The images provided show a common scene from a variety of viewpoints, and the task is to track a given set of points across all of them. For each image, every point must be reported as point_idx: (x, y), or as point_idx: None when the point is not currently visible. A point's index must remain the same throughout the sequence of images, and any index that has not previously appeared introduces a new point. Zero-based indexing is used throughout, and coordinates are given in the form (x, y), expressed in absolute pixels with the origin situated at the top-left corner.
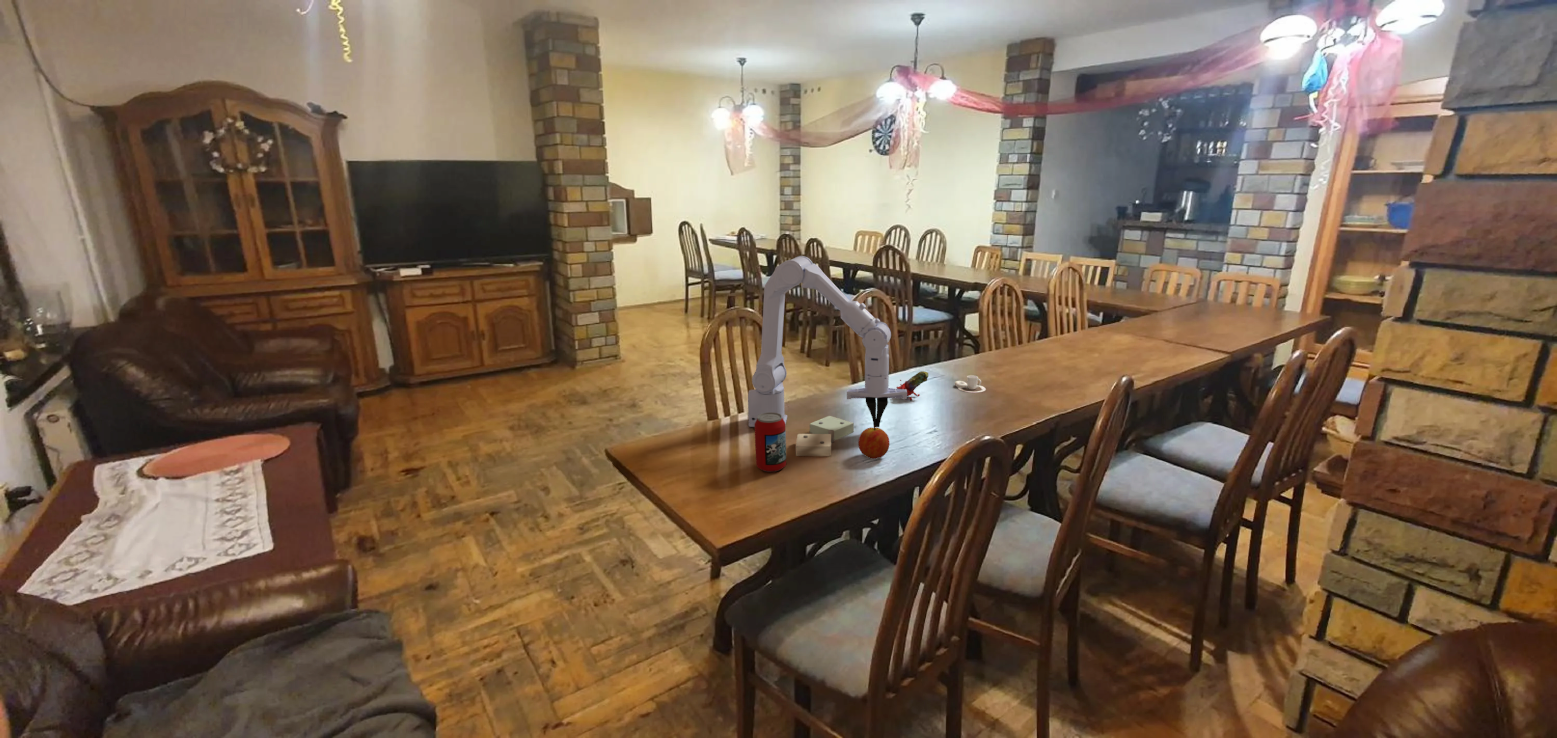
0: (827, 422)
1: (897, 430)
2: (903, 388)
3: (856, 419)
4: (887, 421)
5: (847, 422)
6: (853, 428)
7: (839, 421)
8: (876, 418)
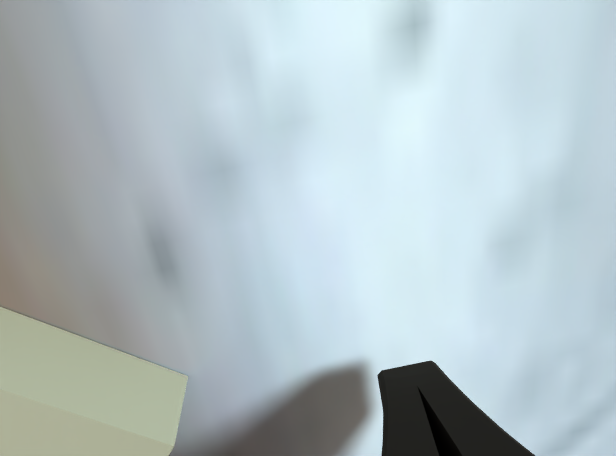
0: None
1: (582, 250)
2: None
3: (107, 16)
4: (498, 9)
5: (103, 448)
6: (182, 401)
7: (4, 446)
8: (431, 428)
